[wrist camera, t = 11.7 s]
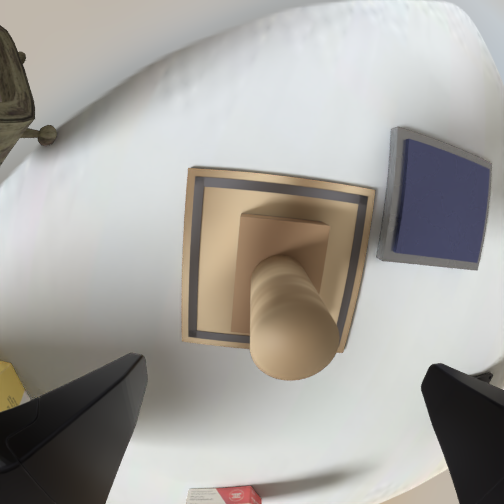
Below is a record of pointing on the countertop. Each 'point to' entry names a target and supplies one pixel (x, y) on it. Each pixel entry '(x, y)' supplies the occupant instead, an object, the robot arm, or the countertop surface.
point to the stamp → (283, 295)
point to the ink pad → (434, 203)
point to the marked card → (226, 243)
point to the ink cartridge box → (223, 496)
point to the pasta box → (10, 388)
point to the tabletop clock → (16, 100)
